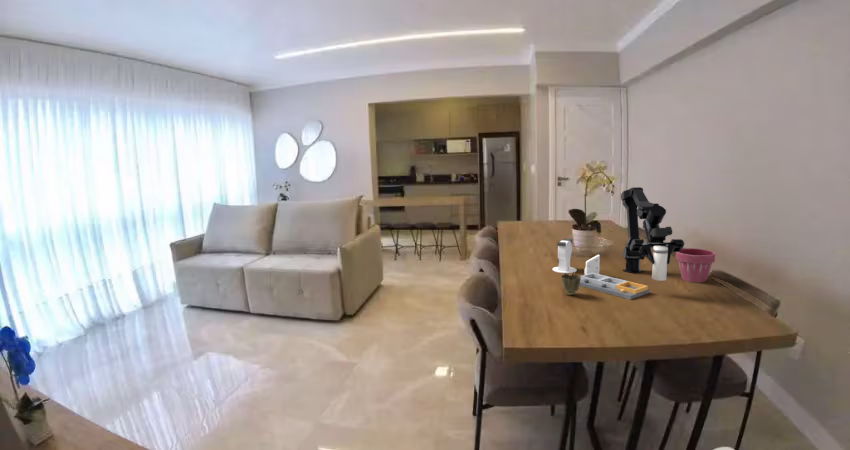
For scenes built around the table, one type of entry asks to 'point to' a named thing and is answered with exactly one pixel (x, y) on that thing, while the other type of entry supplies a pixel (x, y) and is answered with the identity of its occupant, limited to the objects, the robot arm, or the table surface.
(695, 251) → the plant pot
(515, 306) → the table surface
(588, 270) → the white wedge bracket
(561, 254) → the white charging stand
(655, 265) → the white bottle
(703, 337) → the table surface
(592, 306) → the table surface
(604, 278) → the board
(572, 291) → the cup
